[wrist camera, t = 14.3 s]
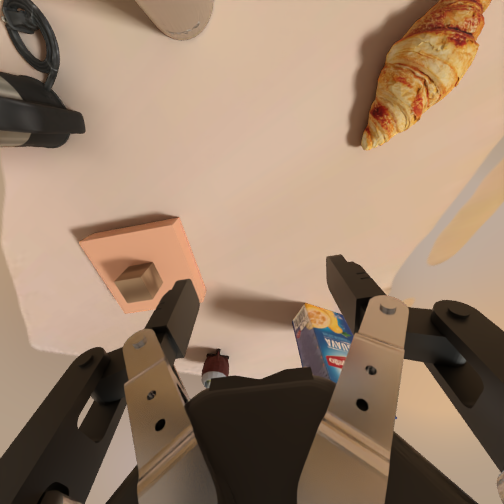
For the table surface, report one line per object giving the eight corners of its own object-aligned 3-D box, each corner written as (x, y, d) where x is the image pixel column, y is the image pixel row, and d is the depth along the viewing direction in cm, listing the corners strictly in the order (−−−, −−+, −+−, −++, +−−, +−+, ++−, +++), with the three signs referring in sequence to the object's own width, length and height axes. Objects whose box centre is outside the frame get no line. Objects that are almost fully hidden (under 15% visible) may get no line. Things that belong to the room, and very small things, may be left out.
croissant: (363, 156, 38) (402, 171, 33) (332, 131, 32) (374, 145, 27) (467, 3, 28) (547, -11, 23) (451, -73, 22) (553, -115, 17)
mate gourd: (231, 349, 58) (225, 410, 45) (228, 366, 62) (222, 427, 49) (205, 346, 57) (191, 407, 44) (203, 363, 61) (190, 425, 48)
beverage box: (328, 332, 55) (370, 436, 36) (291, 321, 53) (315, 425, 34) (342, 314, 52) (397, 418, 33) (304, 302, 50) (338, 405, 31)
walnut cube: (128, 266, 40) (113, 281, 36) (152, 261, 40) (140, 277, 35) (140, 286, 42) (127, 303, 38) (163, 282, 42) (152, 299, 38)
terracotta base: (93, 233, 41) (78, 242, 38) (179, 217, 40) (172, 224, 36) (134, 301, 50) (125, 313, 46) (206, 290, 48) (202, 302, 44)
